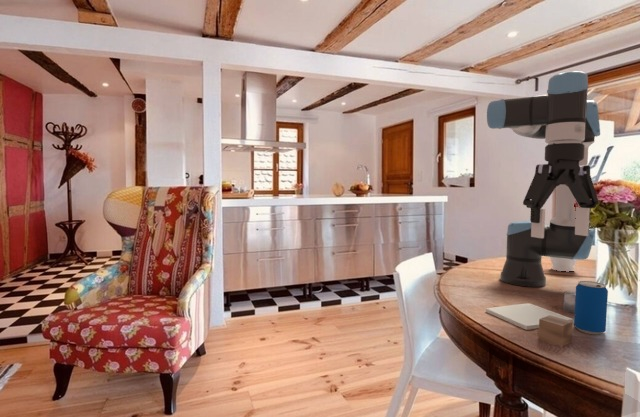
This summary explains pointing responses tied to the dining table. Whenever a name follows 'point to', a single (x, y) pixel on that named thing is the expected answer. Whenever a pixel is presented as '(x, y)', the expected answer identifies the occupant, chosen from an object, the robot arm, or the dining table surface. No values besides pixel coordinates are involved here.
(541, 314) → the white board
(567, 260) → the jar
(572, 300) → the grey metal tin
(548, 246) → the robot arm
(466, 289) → the dining table surface
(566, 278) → the dining table surface
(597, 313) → the beverage can
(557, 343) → the walnut block
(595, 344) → the dining table surface
